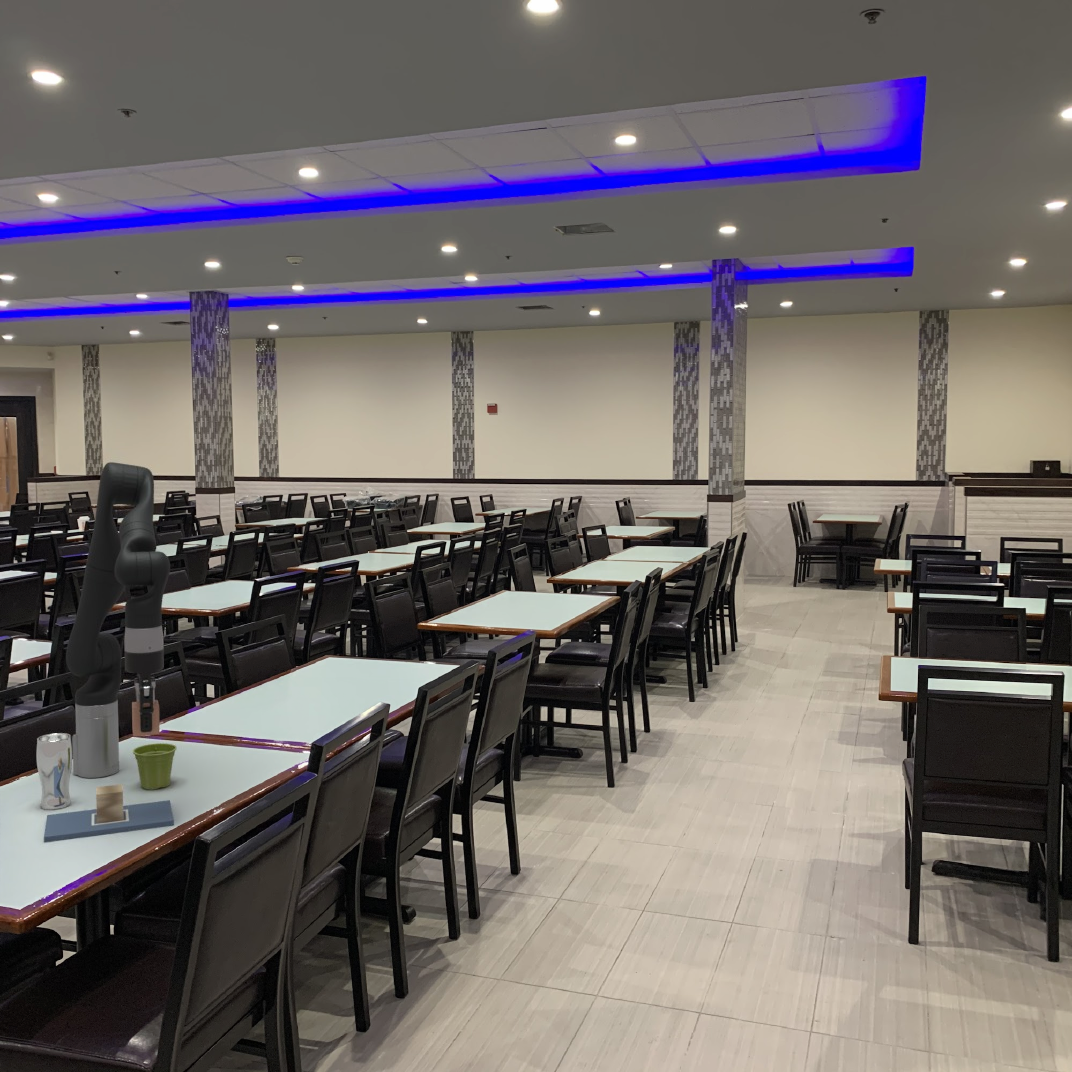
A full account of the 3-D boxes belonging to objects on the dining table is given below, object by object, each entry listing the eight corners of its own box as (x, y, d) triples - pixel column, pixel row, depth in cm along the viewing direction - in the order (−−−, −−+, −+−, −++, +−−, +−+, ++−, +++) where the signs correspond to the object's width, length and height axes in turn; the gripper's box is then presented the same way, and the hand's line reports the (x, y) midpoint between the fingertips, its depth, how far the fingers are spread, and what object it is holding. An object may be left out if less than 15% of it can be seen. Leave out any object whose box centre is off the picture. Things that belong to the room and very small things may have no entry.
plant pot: (142, 778, 233) (142, 742, 232) (183, 779, 233) (182, 743, 233) (126, 792, 224) (126, 754, 223) (168, 792, 224) (168, 755, 223)
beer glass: (50, 812, 211) (48, 743, 209) (31, 806, 214) (29, 738, 213) (80, 803, 216) (78, 736, 215) (61, 797, 220) (59, 731, 219)
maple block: (96, 823, 202) (96, 794, 202) (97, 815, 207) (96, 787, 206) (123, 820, 204) (122, 791, 204) (123, 812, 209) (122, 784, 208)
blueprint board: (44, 842, 195) (43, 836, 195) (47, 819, 207) (47, 814, 207) (173, 825, 204) (173, 819, 204) (169, 804, 216) (169, 799, 216)
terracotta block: (133, 736, 204) (133, 707, 203) (132, 730, 208) (132, 702, 208) (159, 734, 206) (159, 705, 205) (158, 727, 210) (157, 699, 210)
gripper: (166, 652, 201) (167, 735, 202) (161, 640, 214) (162, 717, 215) (125, 655, 198) (127, 739, 199) (123, 642, 211) (124, 721, 212)
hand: (145, 727), depth 207 cm, fingers closed on terracotta block, 5 cm apart
